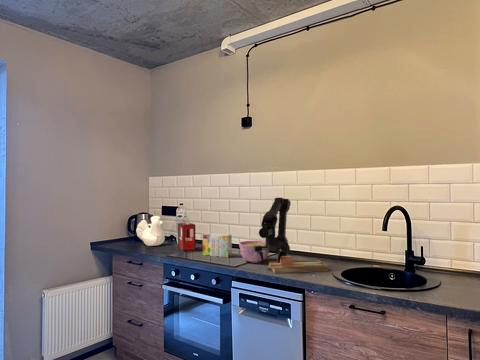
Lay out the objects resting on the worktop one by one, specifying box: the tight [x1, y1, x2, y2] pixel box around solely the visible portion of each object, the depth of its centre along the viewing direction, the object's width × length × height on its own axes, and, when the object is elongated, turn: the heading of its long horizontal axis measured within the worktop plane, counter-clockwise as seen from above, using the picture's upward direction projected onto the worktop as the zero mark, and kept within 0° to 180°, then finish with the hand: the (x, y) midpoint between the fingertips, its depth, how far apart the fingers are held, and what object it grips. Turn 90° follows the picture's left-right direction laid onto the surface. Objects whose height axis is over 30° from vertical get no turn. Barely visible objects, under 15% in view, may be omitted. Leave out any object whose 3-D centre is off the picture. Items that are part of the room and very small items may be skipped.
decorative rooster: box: [135, 215, 166, 247], centre depth 277 cm, size 25×16×25 cm, turn 61°
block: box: [280, 255, 294, 266], centre depth 192 cm, size 6×6×4 cm
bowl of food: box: [238, 240, 270, 264], centre depth 210 cm, size 20×20×12 cm
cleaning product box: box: [177, 222, 197, 253], centre depth 252 cm, size 16×9×20 cm, turn 25°
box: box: [268, 259, 329, 274], centre depth 189 cm, size 16×30×3 cm, turn 96°
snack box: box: [202, 232, 233, 259], centre depth 229 cm, size 21×6×15 cm, turn 59°
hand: (270, 263), depth 191 cm, fingers open, 9 cm apart
